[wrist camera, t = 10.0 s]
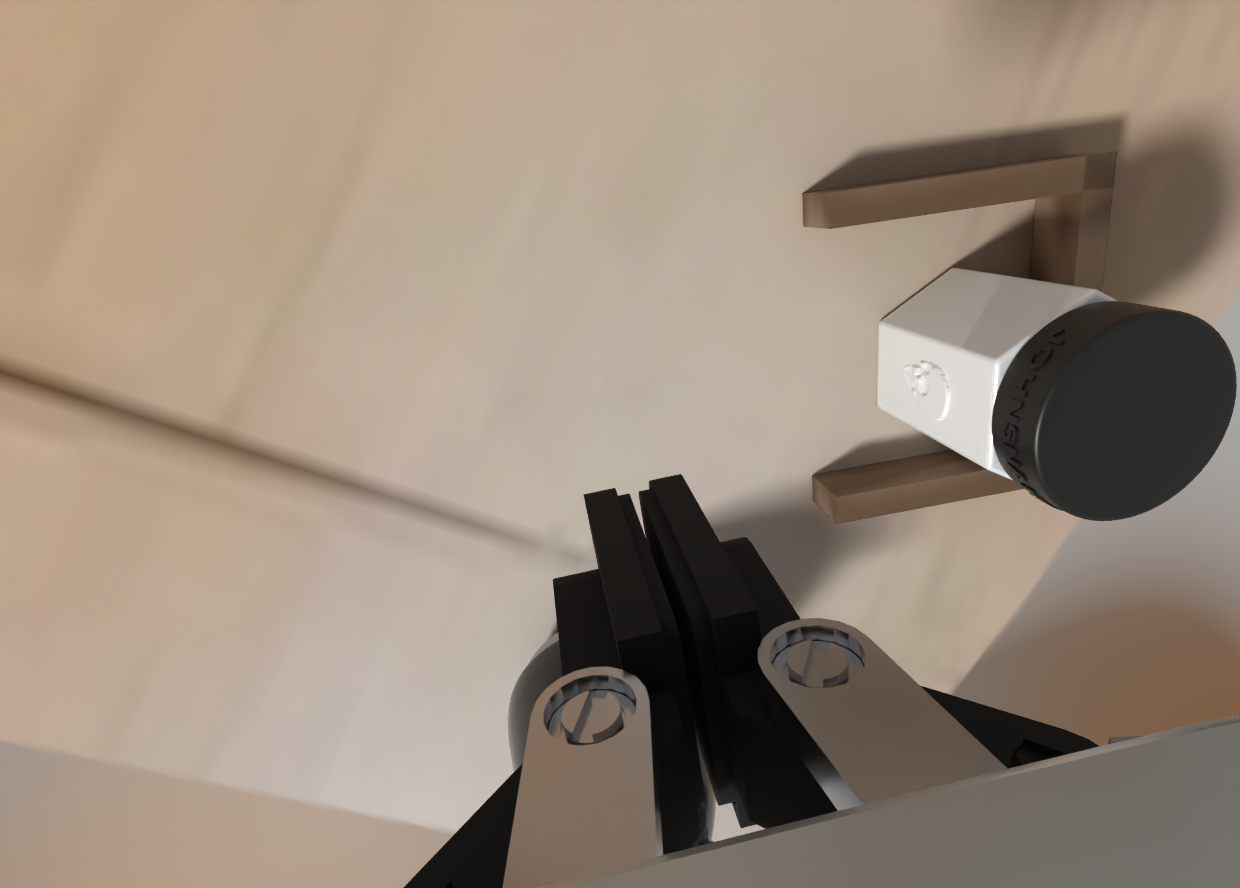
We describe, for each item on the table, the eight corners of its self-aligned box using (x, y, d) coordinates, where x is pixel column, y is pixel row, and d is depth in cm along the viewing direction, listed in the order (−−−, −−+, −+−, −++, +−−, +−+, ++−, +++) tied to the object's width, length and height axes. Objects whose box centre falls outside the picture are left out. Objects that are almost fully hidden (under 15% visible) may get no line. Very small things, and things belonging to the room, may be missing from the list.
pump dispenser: (688, 726, 42) (777, 993, 28) (515, 748, 41) (516, 1040, 27) (690, 579, 39) (792, 796, 25) (501, 597, 37) (494, 838, 23)
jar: (873, 278, 35) (1046, 315, 23) (1024, 256, 35) (1262, 283, 24) (871, 445, 38) (1022, 549, 26) (1010, 422, 38) (1216, 514, 27)
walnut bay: (802, 193, 33) (829, 192, 30) (1067, 155, 34) (1117, 151, 31) (813, 500, 38) (836, 523, 35) (1040, 458, 39) (1081, 478, 37)
